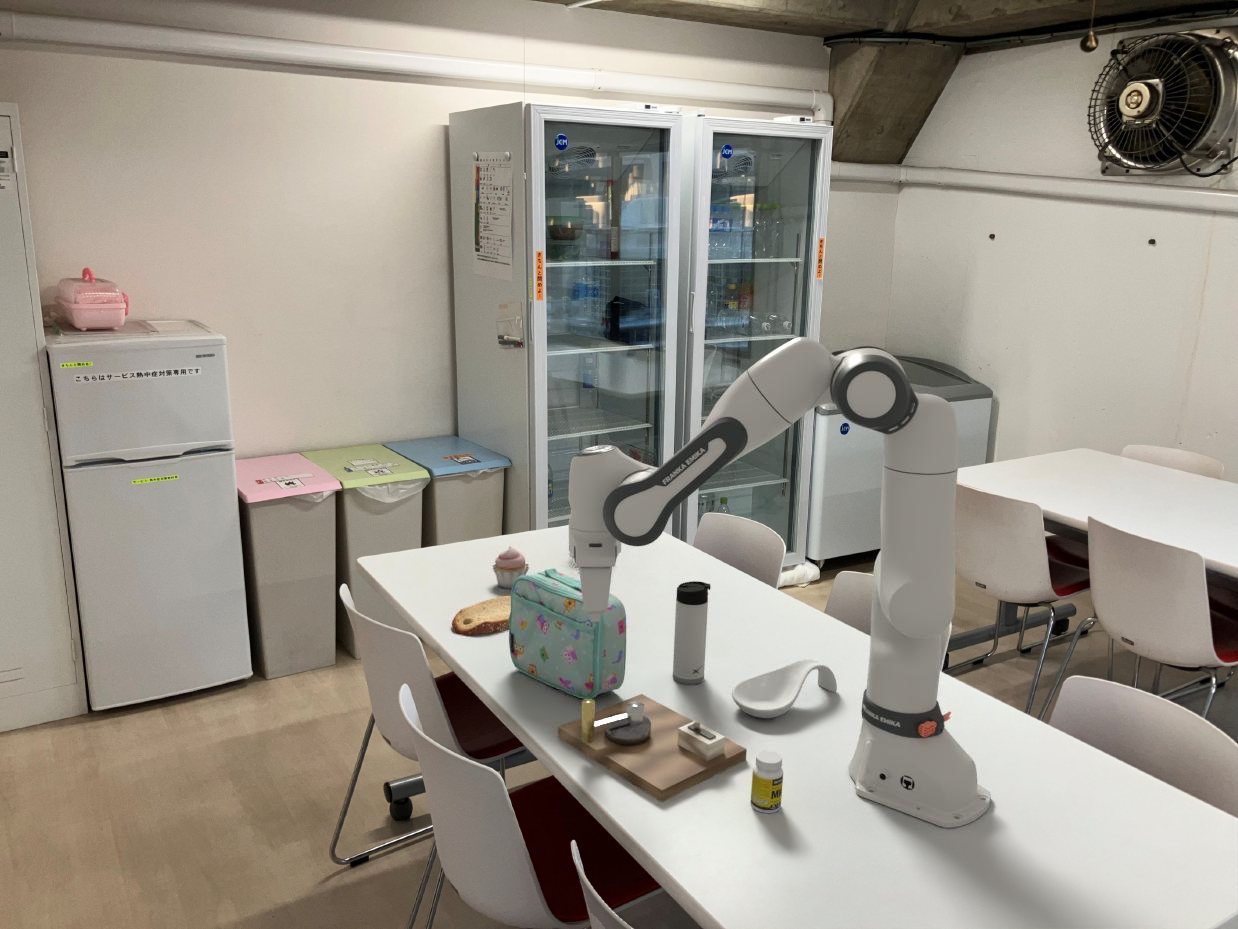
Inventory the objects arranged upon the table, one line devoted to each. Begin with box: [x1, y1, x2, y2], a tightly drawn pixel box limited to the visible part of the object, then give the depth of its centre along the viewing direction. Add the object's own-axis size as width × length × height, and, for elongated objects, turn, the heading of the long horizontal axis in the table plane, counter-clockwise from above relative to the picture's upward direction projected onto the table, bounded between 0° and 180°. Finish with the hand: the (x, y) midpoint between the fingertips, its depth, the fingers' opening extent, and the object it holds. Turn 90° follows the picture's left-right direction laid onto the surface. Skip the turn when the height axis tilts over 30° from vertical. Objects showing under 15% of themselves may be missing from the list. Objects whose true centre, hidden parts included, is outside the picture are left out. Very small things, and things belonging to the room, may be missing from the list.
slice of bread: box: [451, 595, 511, 637], centre depth 224 cm, size 18×18×4 cm
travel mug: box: [672, 580, 712, 685], centre depth 195 cm, size 6×7×20 cm
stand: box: [557, 693, 747, 803], centre depth 170 cm, size 26×20×6 cm
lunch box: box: [508, 567, 627, 700], centre depth 193 cm, size 27×10×21 cm, turn 47°
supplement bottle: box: [750, 750, 784, 814], centre depth 153 cm, size 5×5×8 cm
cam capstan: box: [581, 698, 651, 746], centre depth 168 cm, size 13×8×8 cm, turn 122°
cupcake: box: [491, 545, 530, 589], centre depth 245 cm, size 9×9×10 cm
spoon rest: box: [731, 658, 838, 719], centre depth 188 cm, size 24×12×7 cm, turn 127°
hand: (595, 618), depth 168 cm, fingers closed
